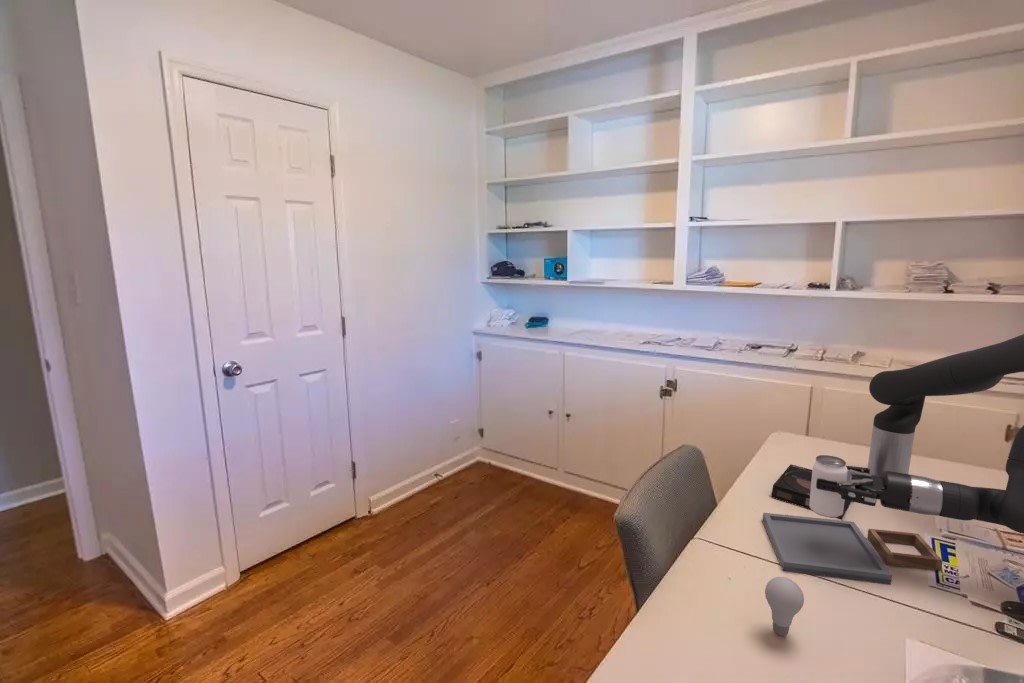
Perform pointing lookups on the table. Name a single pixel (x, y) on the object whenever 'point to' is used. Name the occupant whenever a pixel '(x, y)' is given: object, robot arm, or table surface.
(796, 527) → the tray
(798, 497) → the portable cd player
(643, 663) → the table surface
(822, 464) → the can
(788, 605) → the lightbulb
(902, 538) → the holder
